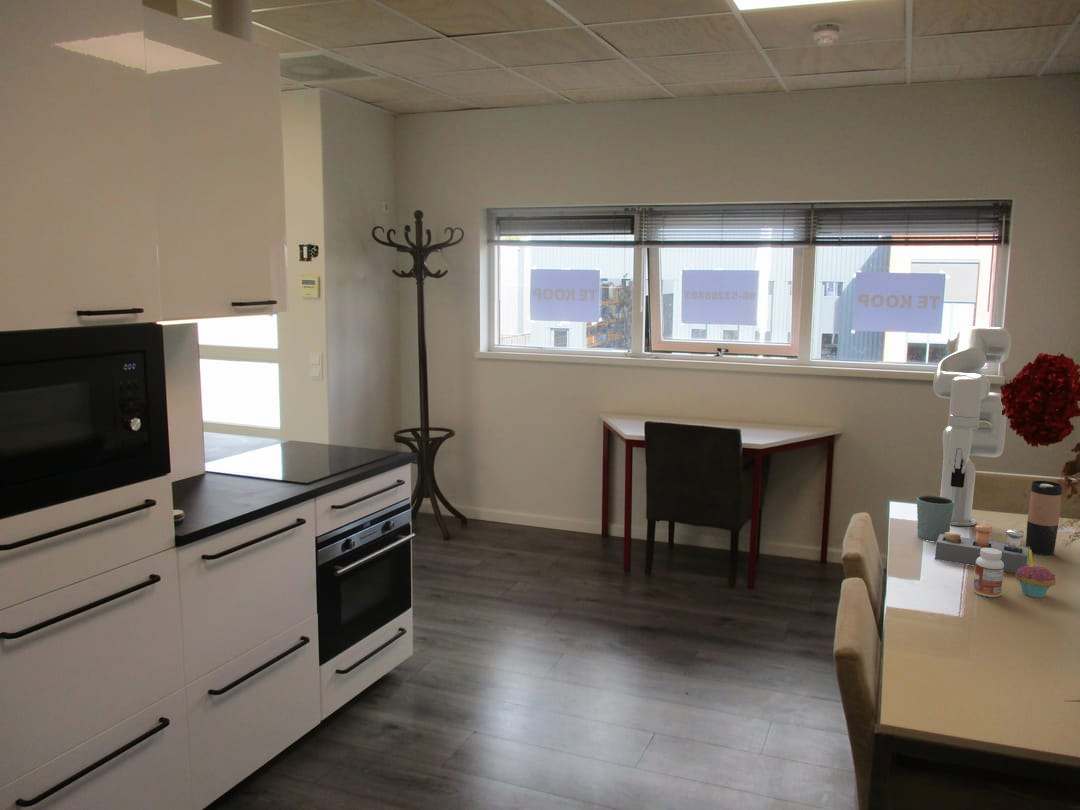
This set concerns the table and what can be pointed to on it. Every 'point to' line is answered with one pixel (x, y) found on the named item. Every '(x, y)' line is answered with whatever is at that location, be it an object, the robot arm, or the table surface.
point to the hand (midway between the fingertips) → (957, 486)
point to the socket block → (978, 553)
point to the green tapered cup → (933, 516)
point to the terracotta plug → (983, 535)
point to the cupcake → (1034, 579)
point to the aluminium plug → (1014, 540)
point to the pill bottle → (988, 573)
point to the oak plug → (952, 537)
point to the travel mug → (1043, 517)
